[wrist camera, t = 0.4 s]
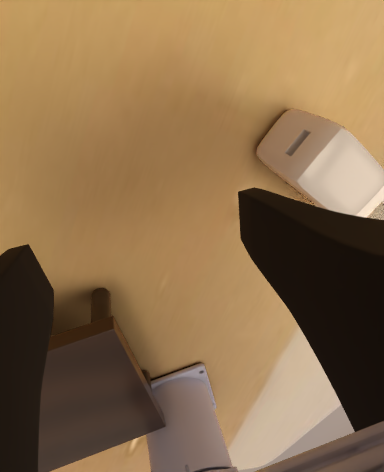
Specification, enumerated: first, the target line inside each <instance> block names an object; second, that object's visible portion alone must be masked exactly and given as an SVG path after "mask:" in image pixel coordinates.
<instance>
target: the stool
mask: <svg viewBox="0 0 384 472" xmlns="http://www.w3.org/2000/svg"><path fill="white" fill-rule="evenodd" d="M164 427H166V425H165V419H164V414H163V412H162V410H161V408H160V406H159V404H158V402H157V400H156V398H155V397H154V395H153V393H152V387H151V381H150V374H149V372H148V371H141V369H140V367H139V365H138V363H137V362H136V360H135V358H134V356H133V354H132V352H131V350H130V348H129V346H128V344H127V342H126V340H125V338H124V336H123V334H122V332H121V330H120V329H119V327H118V325H117V323H116V321H115V319H114V317H113V316H111V300H110V292H109V291H108V290H107V289H104V288H99V289H96V290H95V291H93V293H92V296H91V323H90V324H87V325H84V326H81V327H78V328H75V329H72V330H69V331H66V332H63V333H60V334H57V335H54V336H51V337H50V340H49V346H48V352H47V358H46V364H45V369H44V375H43V382H42V390H41V402H40V420H39V449H38V472H49V471H52V470H55V469H57V468H60V467H62V466H65V465H68V464H70V463H73V462H75V461H78V460H81V459H83V458H86V457H88V456H91V455H94V454H96V453H99V452H101V451H104V450H107V449H109V448H112V447H114V446H117V445H120V444H122V443H125V442H127V441H130V440H133V439H135V438H138V437H140V436H143V435H146V434H148V433H151V432H153V431H156V430H159V429H161V428H164Z"/></svg>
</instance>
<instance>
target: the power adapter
mask: <svg viewBox="0 0 384 472" xmlns="http://www.w3.org/2000/svg"><path fill="white" fill-rule="evenodd" d="M257 156H258V158H259V159H260V161H261V162H263V163H264V164H265V165H266V166H267V167H268V168H270V169H271V170H272V171H273V172H275V173H276V174H277V175H278V176H280V177H281V178H282V179H283V180H285V181H286V182H287V183H288V184H290V185H291V186H292V187H293V188H295V189H296V190H297V191H299V192H300V193H301V194H303V195H304V196H305V197H307V198H308V199H309V200H311V201H312V202H313V203H314V205H315V206H316V207H320V208H324V209H328V210H331V211H335V212H340V213H344V214H349V215H355V216H360V217H365V218H366V217H367V216H368V215H369V214H370V213H371V212H372V211H373V210H374V209H375V208H376V207H377V206H378V205H379V204H380V203H382V204H383V205H384V170H383V168H382V167H381V166H380V165H379V163H378V162H377V161H376V160H375V159H374V158H373V157H372V155H371V154H370V153H369V152H368V151H367V150H366V149H365V148H364V146H363V145H362V144H361V143H360V142H359V141H358V140H357V139H356V138H355V137H354V136H353V135H352V134H351V133H350V132H349V131H348V130H347V129H346V128H345V127H343V126H341V125H339V124H337V123H335V122H333V121H330V120H328V119H325V118H322V117H320V116H317V115H314V114H311V113H308V112H305V111H301V110H298V109H291V110H288V111H286V112H284V113H283V115H282V116H281V117H280V118H279V119H278V120H277V122H276V123H275V124H274V125H273V127H272V128H271V129H270V130H269V132H268V133H267V134H266V136H265V137H264V138H263V140H262V141H261V143H260V144H259V146H258V147H257Z"/></svg>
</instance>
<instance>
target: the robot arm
mask: <svg viewBox="0 0 384 472" xmlns="http://www.w3.org/2000/svg"><path fill="white" fill-rule="evenodd" d="M238 198H239V216H240V234H241V240H242V242H243V244H244V246H245V248H246V250H247V252H248V253H249V255H250V257H251V259H252V260H253V262H254V263H255V265H256V266H257V267H258V269H259V270H260V271H261V273H262V274H263V275H264V277H265V278H266V279H267V281H268V282H269V283H270V285H271V286H272V287H273V289H274V290H275V291H276V293H277V294H278V295H279V297H280V298H281V299H282V301H283V302H284V303H285V305H286V306H287V308H288V309H289V310H290V312H291V313H292V315H293V317H294V318H295V320H296V322H297V323H298V325H299V327H300V328H301V330H302V332H303V334H304V335H305V337H306V339H307V340H308V342H309V344H310V346H311V348H312V349H313V351H314V353H315V355H316V357H317V358H318V360H319V362H320V364H321V366H322V368H323V369H324V371H325V373H326V375H327V377H328V379H329V381H330V383H331V385H332V387H333V388H334V390H335V392H336V394H337V396H338V398H339V400H340V402H341V404H342V406H343V408H344V410H345V412H346V414H347V416H348V418H349V421H350V422H351V425H352V427H353V429H354V431H355V432H354V433H352V434H349V435H347V436H344V437H342V438H339V439H337V440H334V441H331V442H329V443H326V444H324V445H321V446H319V447H316V448H314V449H311V450H309V451H306V452H303V453H301V454H298V455H296V456H293V457H291V458H288V459H286V460H283V461H281V462H278V463H275V464H273V465H270V466H268V467H265V468H263V469H260V470H258V471H255V472H384V220H378V219H371V218H365V217H360V216H355V215H349V214H344V213H340V212H335V211H331V210H328V209H324V208H320V207H316V206H313V205H310V204H306V203H303V202H300V201H297V200H293V199H290V198H287V197H284V196H281V195H278V194H275V193H272V192H269V191H266V190H262V189H258V188H251V189H247V190H243V191H239V192H238ZM53 311H54V290H53V288H52V286H51V284H50V283H49V281H48V279H47V277H46V275H45V273H44V272H43V270H42V268H41V266H40V264H39V262H38V261H37V259H36V257H35V255H34V253H33V251H32V250H31V248H30V246H29V244H27V245H23V246H19V247H15V248H11V249H8V250H7V251H6V252H4V253H3V254H2V255H1V256H0V472H38V449H39V420H40V402H41V390H42V382H43V375H44V369H45V364H46V358H47V352H48V346H49V340H50V334H51V328H52V322H53ZM151 387H152V393H153V395H154V397H155V398H156V400H157V402H158V404H159V406H160V408H161V410H162V412H163V414H164V419H165V425H166V427H164V428H161V429H159V430H156V431H153V432H151V433H148V434H146V436H147V443H148V451H149V459H150V467H151V472H238V470H237V467H233V466H232V463H231V460H230V456H229V453H228V450H227V447H226V444H225V441H224V438H223V435H222V432H221V429H220V425H219V422H218V419H217V416H216V413H215V409H216V408H217V406H216V403H215V400H214V396H213V393H212V389H211V386H210V383H209V379H208V376H207V372H206V369H205V366H204V364H202V363H200V364H197V365H194V366H191V367H189V368H186V369H183V370H180V371H178V372H175V373H172V374H169V375H167V376H164V377H161V378H158V379H156V380H153V381H151Z"/></svg>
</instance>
